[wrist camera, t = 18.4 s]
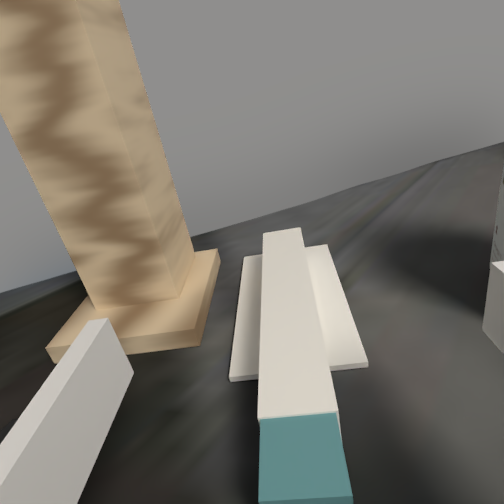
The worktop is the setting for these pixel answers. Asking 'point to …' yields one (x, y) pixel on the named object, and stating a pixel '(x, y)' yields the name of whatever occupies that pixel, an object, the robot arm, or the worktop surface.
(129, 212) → the stand
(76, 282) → the worktop surface
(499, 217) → the supplement box
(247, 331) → the notepad
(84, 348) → the robot arm
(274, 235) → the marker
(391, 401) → the worktop surface
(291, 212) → the worktop surface
